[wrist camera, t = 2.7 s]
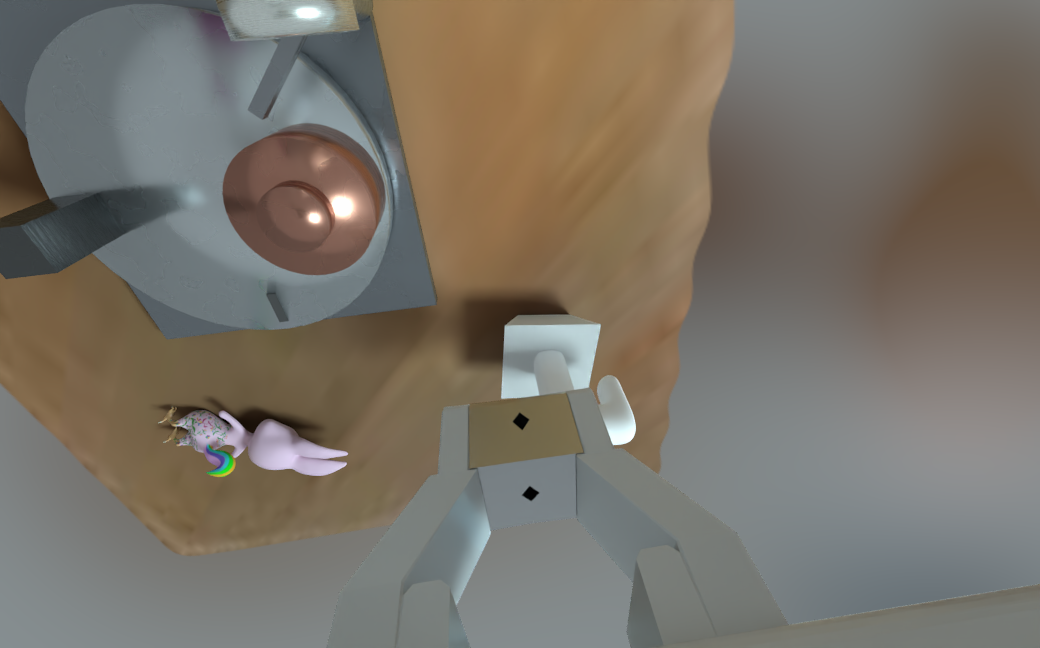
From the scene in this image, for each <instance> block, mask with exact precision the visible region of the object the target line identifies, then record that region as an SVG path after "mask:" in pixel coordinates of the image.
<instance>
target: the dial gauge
mask: <svg viewBox="0 0 1040 648" xmlns="http://www.w3.org/2000/svg"><path fill="white" fill-rule="evenodd" d="M215 2H216V4H217V7H218V9H219V12H220V14H221V17H222V20H223V22H224V25H225V27H226V30H227V32H228V35H229V37H230V40H231V41H254V40H269V39H280V42H279V44H278V46H277V48H276V50H275V52H274V54H273V57H272V59H271V61H270V63H269V65H268V67H267V69H266V71H265V74H264V76H263V78H262V80H261V82H260V84H259V86H258V88H257V91H256V93H255V95H254V97H253V99H252V101H251V103H250V105H249V108H248V111H250V112H251V113H253V114H254V115H255V116H257V117H258V118H260V119H261V120H263V119H266V118H268V116H269V114H270V112H271V110H272V108H273V106H274V104H275V102H276V100H277V98H278V95H279V93H280V91H281V89H282V87H283V85H284V83H285V81H286V79H287V77H288V75H289V73H290V71H291V69H292V67H293V65H294V63H295V61H296V59H297V57H298V55H299V53H300V51H301V49H302V47H303V45H304V43H305V41H306V39H307V37H308V36H315V35H325V34H334V33H342V32H350V31H356V30H360V29H359V25H358V21H362V20H365V19H367V18H368V17H369V16H370V15H371V13H372V10H373V0H215ZM357 20H358V21H357Z"/></svg>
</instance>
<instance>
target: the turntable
mask: <svg viewBox="0 0 1040 648" xmlns="http://www.w3.org/2000/svg"><path fill="white" fill-rule="evenodd" d="M279 42H280V39H269V40H254V41H231V40H230V37H229V35H228V32H227V30H226V27H225V25H224V22H223V20H222V17H221V14H220V13H218V12H214V11H211V10H205V9H197V8H190V7H182V6H173V5H164V4H130V5H125V6H119V7H114V8H108V9H104V10H102V11H99V12H96V13H94V14H91V15H88V16H86V17H83V18H81V19H80V20H78V21H77V22H75V23H73V24H72V25H70V26H69V27H67V28H66V29H64V30H63V31H62V32H61V33H60V34H59V35H58V36H57V37H56V38H55V39H54V40H53V41H52V42H51V43H50V44H49V45H48V46H47V47H46V48H45V50H44V52H43V53H42V55H41V56H40V58H39V60H38V61H37V63H36V64H35V67H34V70H33V73H32V75H31V78H30V81H29V84H28V88H27V95H26V103H25V125H26V134H27V139H28V144H29V149H30V154H31V157H32V160H33V162H34V165H35V168H36V171H37V174H38V176H39V178H40V180H41V182H42V184H43V186H44V188H45V190H46V192H47V194H48V196H49V198H50V199H48V200H46V201H43V202H41V203H38V204H35V205H33V206H30V207H28V208H25V209H23V210H20V211H17V212H15V213H12V214H10V215H7V216H5V217H2V218H0V273H1V274H2V275H3V276H4V277H5V279H10V278H18V277H26V276H35V275H43V274H51V273H58V272H60V271H61V270H63V269H65V268H67V267H68V266H70V265H72V264H73V263H75V262H77V261H79V260H80V259H82V258H84V257H86V256H87V255H89V254H91V253H93V254H94V255H95V256H96V257H97V258H98V259H99V260H100V261H102V262H103V263H104V264H105V265H106V266H107V267H109V268H110V269H111V270H112V271H113V272H114V273H116V274H117V275H119V276H120V277H121V278H123V279H124V280H125V281H127V282H128V283H130V284H131V285H132V286H134V287H135V288H137V289H139V290H140V291H142V292H144V293H145V294H147V295H149V296H150V297H152V298H154V299H156V300H158V301H160V302H162V303H164V304H165V305H167V306H169V307H171V308H174V309H176V310H179V311H181V312H183V313H186V314H188V315H191V316H194V317H197V318H200V319H203V320H206V321H210V322H213V323H217V324H222V325H227V326H231V327H238V328H246V329H264V330H273V329H286V328H292V327H298V326H303V325H307V324H310V323H313V322H317V321H320V320H322V319H324V318H326V317H329V316H331V315H333V314H335V313H337V312H338V311H340V310H341V309H343V308H344V307H346V306H348V305H349V304H350V303H351V302H352V301H353V300H355V299H356V298H357V297H358V296H359V295H360V294H361V293H362V292H363V291H364V289H365V288H366V287H367V286H368V285H369V283H370V282H371V280H372V278H373V277H374V275H375V274H376V272H377V270H378V268H379V265H380V263H381V260H382V258H383V256H384V253H385V250H386V247H387V245H388V241H389V237H390V233H391V229H392V220H393V194H392V187H391V182H390V177H389V172H388V169H387V166H386V163H385V160H384V156H383V153H382V151H381V149H380V147H379V145H378V142H377V140H376V138H375V136H374V134H373V132H372V130H371V129H370V127H369V125H368V124H367V122H366V120H365V119H364V117H363V115H362V114H361V112H360V111H359V110H358V108H357V107H356V106H355V104H354V103H353V102H352V100H351V99H350V98H349V96H348V95H347V94H346V93H345V91H344V90H343V89H342V88H341V87H340V86H339V85H338V84H337V83H336V82H335V81H334V80H333V79H332V78H331V76H330V75H329V74H327V73H326V72H325V71H324V70H323V69H322V68H321V67H319V66H318V65H317V64H316V63H315V62H314V61H312V60H311V59H310V58H309V57H308V56H306V55H305V54H303V53H302V52H301V51H300V53H299V55H298V57H297V59H296V61H295V63H294V65H293V67H292V69H291V71H290V73H289V75H288V77H287V79H286V81H285V83H284V85H283V87H282V89H281V91H280V93H279V95H278V98H277V100H276V102H275V104H274V106H273V108H272V110H271V112H270V114H269V116H268V118H266V119H263V120H261V119H260V118H258V117H257V116H255V115H254V114H253V113H251V112H250V111H248V108H249V105H250V103H251V101H252V99H253V97H254V95H255V93H256V91H257V88H258V86H259V84H260V82H261V80H262V78H263V76H264V74H265V71H266V69H267V67H268V65H269V63H270V61H271V59H272V57H273V54H274V52H275V50H276V48H277V46H278V44H279ZM300 123H313V124H320V125H325V126H328V127H331V128H334V129H337V130H339V131H341V132H343V133H345V134H346V135H348V136H349V137H351V138H352V139H354V140H355V141H356V142H358V143H359V144H360V145H361V146H362V147H363V148H364V149H365V150H366V151H367V152H368V153H369V155H370V156H371V157H372V158H373V160H374V162H375V163H376V165H377V166H378V169H379V171H380V173H381V175H382V178H383V181H384V185H385V192H386V203H385V209H384V213H383V216H382V218H381V221H380V223H379V225H378V227H377V229H376V231H375V234H374V236H373V238H372V240H371V242H370V245H369V247H368V248H367V250H366V252H365V253H364V254H363V256H362V257H361V258H360V259H359V260H358V261H357V262H355V263H354V264H353V265H351V266H350V267H348V268H346V269H344V270H342V271H339V272H336V273H332V274H327V275H305V274H299V273H295V272H291V271H288V270H285V269H282V268H280V267H278V266H276V265H274V264H272V263H270V262H268V261H267V260H265V259H263V258H262V257H261V256H259V255H258V254H257V253H255V252H254V251H253V250H252V249H251V248H250V247H249V246H248V245H247V244H246V243H245V242H244V241H243V240H242V239H241V238H240V236H239V235H238V233H237V232H236V231H235V229H234V227H233V226H232V224H231V222H230V220H229V218H228V215H227V213H226V210H225V206H224V202H223V194H222V192H223V180H224V175H225V173H226V170H227V167H228V166H229V164H230V162H231V161H232V159H233V158H234V157H235V156H236V155H237V154H238V153H239V152H240V151H241V150H243V149H244V148H245V147H247V146H249V145H251V144H252V143H254V142H256V141H258V140H260V139H262V138H264V137H266V136H268V135H270V134H272V133H274V132H276V131H278V130H280V129H282V128H285V127H288V126H290V125H295V124H300Z"/></svg>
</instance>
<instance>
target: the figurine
mask: <svg viewBox="0 0 1040 648" xmlns="http://www.w3.org/2000/svg"><path fill="white" fill-rule="evenodd" d="M600 327H601V324H598V323H595V322H592V321H589V320H586V319H582V318H579V317H576V316H573V315H517V316H516V317H515V318H514V319H512V320H511V321H510V322H509V323H507V324H506V325H505V331H504V352H503V374H502V395H501V398H523V397H530V396H537V395H544V394H551V393H558V392H566V391H570V390H576V389H583V388H588V387H589V382H590V377H591V372H592V367H593V362H594V357H595V352H596V347H597V342H598V337H599V332H600ZM597 394H598V398H599V401H600V403H601V405H598V407H599V409H600V412H601V415H602V417H603V420H604V423H605V425H606V428H607V430H608V433H609V436H610V438H611V441H612V444H613V445H620V444H625V443H627V442H629V441H631V440H632V438H633V437H634V435H635V430H636V426H635V419H634V416H633V413H632V410H631V408H630V405H629V403H628V401H627V399H626V396H625V394H624V392H623V390H622V388H621V385H620V383H619V381H618V380H617V378H616V377H614V376H611V375H608V376H605V377H603V378H602V379H601V380H600V382H599V384H598V387H597Z"/></svg>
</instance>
